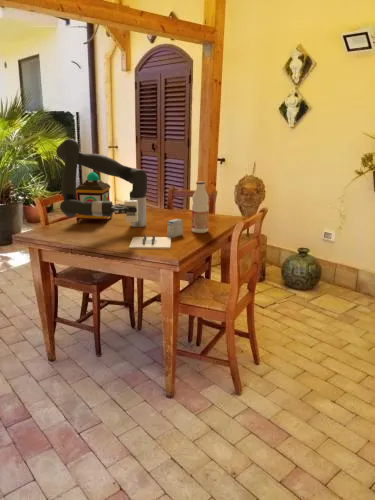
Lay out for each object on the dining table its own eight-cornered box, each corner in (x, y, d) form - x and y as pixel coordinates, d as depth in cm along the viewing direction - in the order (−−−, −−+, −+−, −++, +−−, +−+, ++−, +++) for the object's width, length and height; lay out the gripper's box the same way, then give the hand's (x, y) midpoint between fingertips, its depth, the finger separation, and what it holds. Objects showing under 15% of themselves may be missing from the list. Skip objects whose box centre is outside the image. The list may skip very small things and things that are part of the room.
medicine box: (176, 233, 227) (176, 218, 225) (182, 235, 225) (182, 219, 222) (167, 236, 221) (166, 220, 219) (173, 237, 219) (173, 222, 216)
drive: (126, 219, 206) (125, 200, 203) (138, 219, 206) (137, 200, 203) (125, 221, 202) (124, 201, 199) (137, 221, 202) (136, 201, 199)
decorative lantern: (85, 216, 265) (82, 169, 256) (115, 217, 263) (113, 170, 254) (74, 224, 246) (70, 173, 237) (106, 225, 244) (103, 174, 235)
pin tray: (133, 238, 217) (133, 232, 216) (171, 238, 217) (171, 232, 216) (129, 248, 200) (128, 241, 199) (170, 248, 200) (170, 242, 199)
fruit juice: (200, 234, 226) (201, 183, 218) (188, 231, 232) (188, 181, 224) (211, 231, 233) (212, 181, 225) (199, 228, 239) (199, 180, 231)
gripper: (99, 204, 194) (135, 204, 195) (104, 198, 208) (138, 198, 208) (100, 219, 197) (135, 219, 197) (105, 213, 210) (138, 213, 210)
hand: (136, 208), depth 203 cm, fingers closed on drive, 4 cm apart
